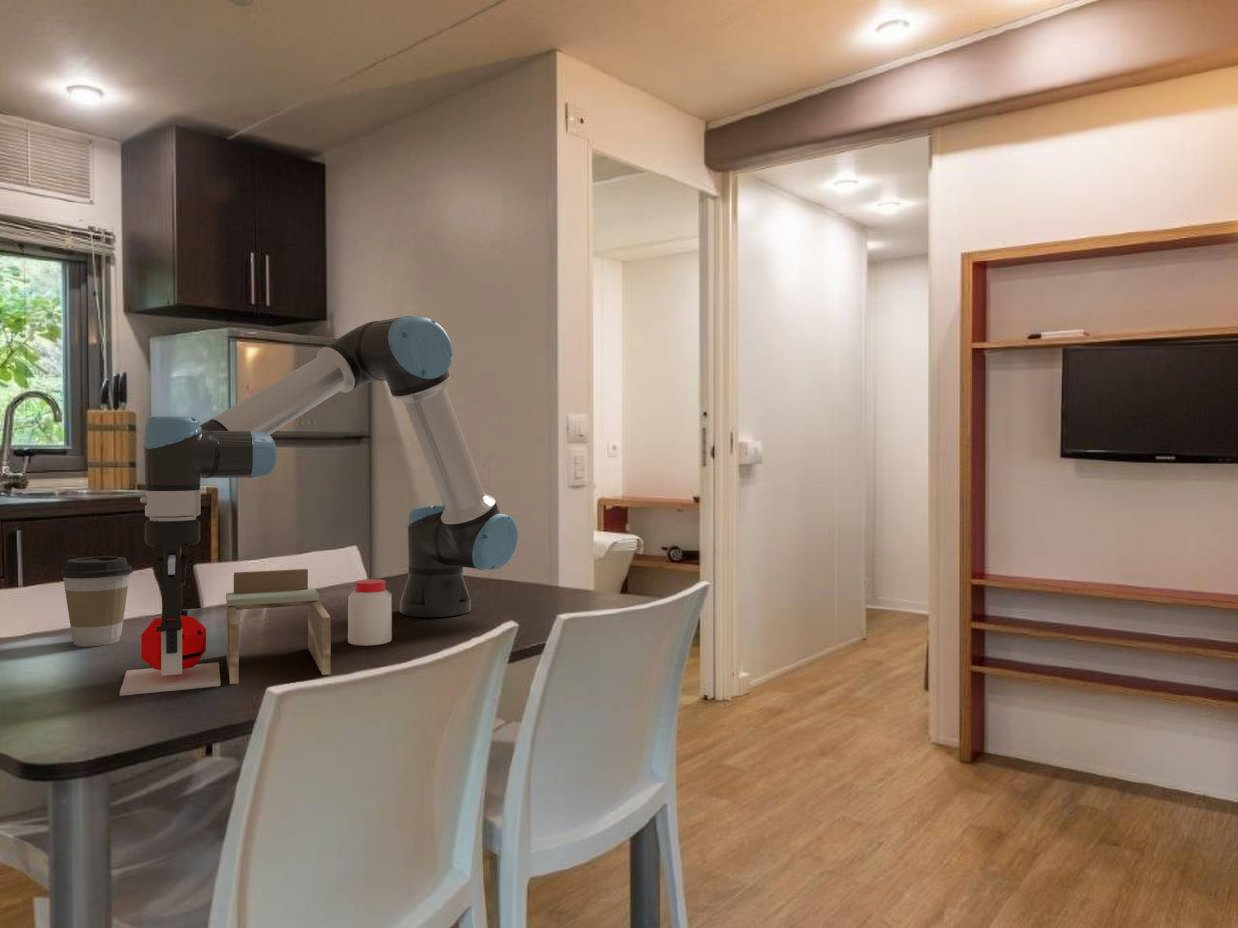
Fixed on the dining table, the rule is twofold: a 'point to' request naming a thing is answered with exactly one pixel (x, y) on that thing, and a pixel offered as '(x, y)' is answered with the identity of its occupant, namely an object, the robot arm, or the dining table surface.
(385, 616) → the pill bottle
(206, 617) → the dining table surface
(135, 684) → the mat
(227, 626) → the wooden goalpost gate
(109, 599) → the coffee cup
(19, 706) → the dining table surface
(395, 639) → the dining table surface
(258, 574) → the cover
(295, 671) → the dining table surface
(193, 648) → the ball
